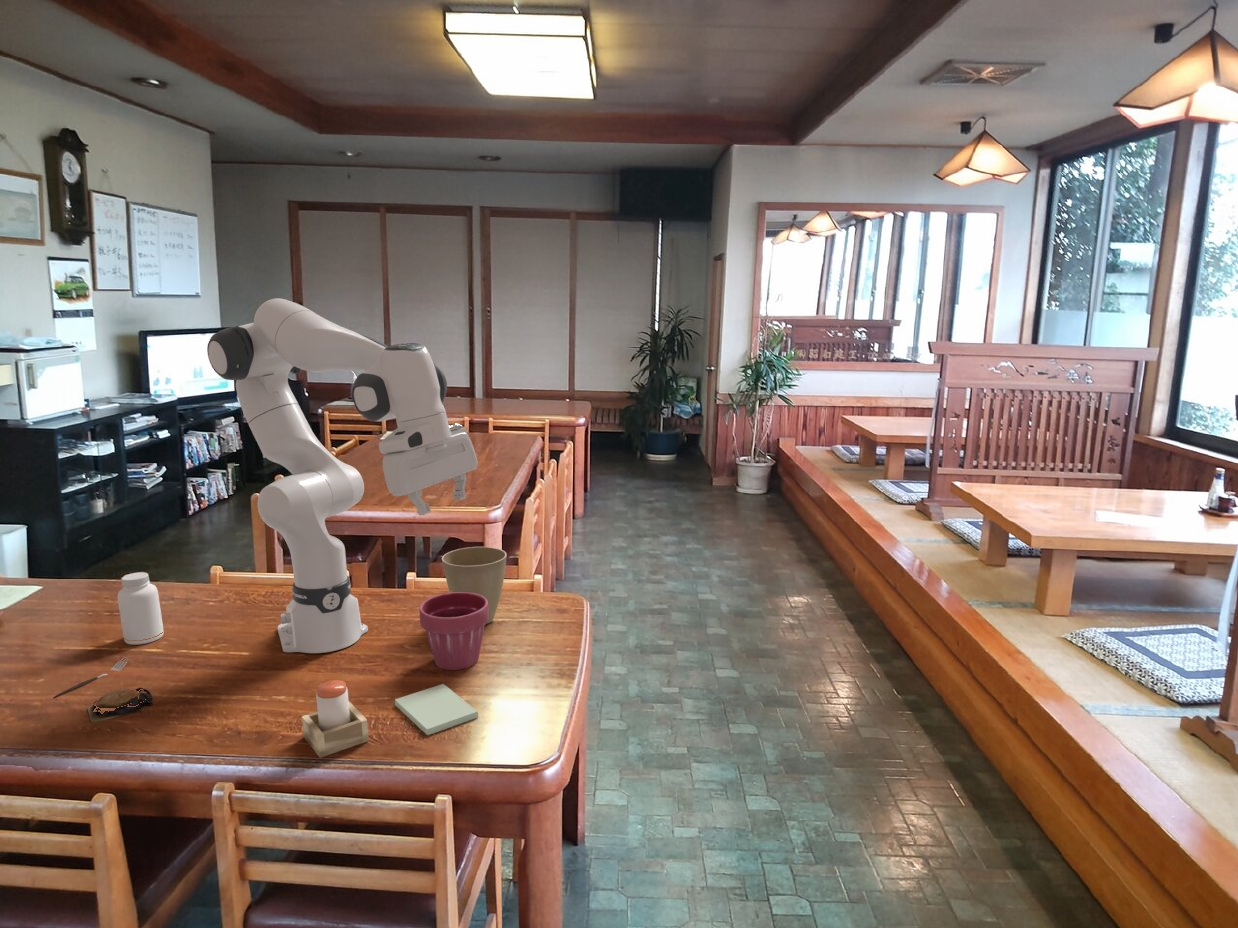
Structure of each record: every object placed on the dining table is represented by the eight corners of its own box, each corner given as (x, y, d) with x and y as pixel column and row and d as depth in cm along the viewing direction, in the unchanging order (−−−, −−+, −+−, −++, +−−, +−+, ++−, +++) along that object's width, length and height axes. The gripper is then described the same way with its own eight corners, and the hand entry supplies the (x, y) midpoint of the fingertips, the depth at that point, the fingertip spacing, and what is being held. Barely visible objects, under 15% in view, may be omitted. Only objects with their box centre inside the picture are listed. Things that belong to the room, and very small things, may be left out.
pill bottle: (115, 642, 188) (106, 579, 185) (147, 629, 196) (138, 568, 192) (141, 647, 185) (131, 583, 182) (172, 634, 193) (163, 572, 189)
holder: (303, 737, 147) (301, 716, 147) (351, 721, 152) (349, 701, 152) (319, 757, 141) (317, 736, 140) (368, 740, 146) (367, 719, 145)
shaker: (315, 732, 147) (311, 685, 145) (345, 723, 150) (340, 676, 148) (325, 745, 143) (321, 696, 141) (355, 734, 146) (351, 687, 144)
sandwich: (91, 727, 153) (88, 709, 152) (86, 709, 160) (83, 691, 159) (156, 709, 159) (154, 691, 158) (149, 692, 166) (147, 675, 165)
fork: (49, 698, 163) (47, 689, 163) (123, 664, 178) (121, 656, 177) (58, 701, 162) (56, 691, 162) (131, 666, 177) (130, 658, 177)
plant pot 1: (520, 622, 196) (517, 557, 193) (461, 638, 188) (457, 570, 185) (492, 603, 208) (489, 542, 205) (435, 617, 200) (431, 553, 197)
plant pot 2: (477, 678, 169) (474, 618, 166) (411, 673, 171) (407, 614, 168) (499, 648, 182) (497, 593, 180) (438, 644, 185) (435, 589, 182)
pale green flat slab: (395, 705, 158) (394, 699, 158) (443, 689, 164) (443, 683, 164) (427, 735, 147) (426, 729, 147) (478, 717, 153) (477, 711, 153)
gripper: (451, 423, 160) (467, 492, 163) (370, 446, 144) (390, 523, 146) (475, 419, 157) (492, 490, 159) (396, 443, 140) (416, 522, 142)
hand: (443, 506), depth 152 cm, fingers open, 8 cm apart
